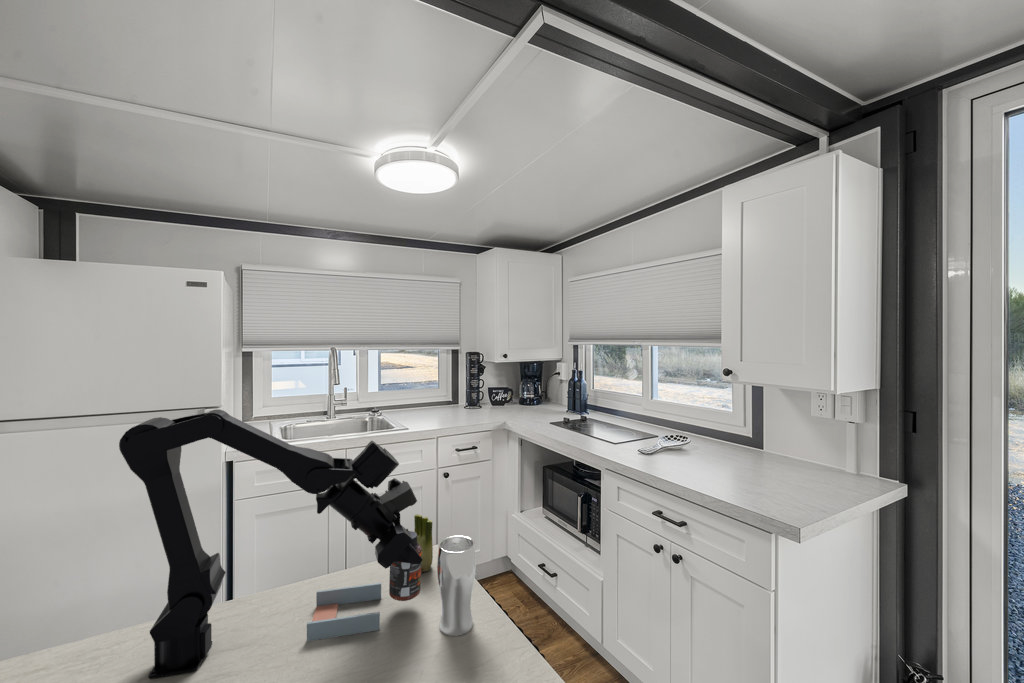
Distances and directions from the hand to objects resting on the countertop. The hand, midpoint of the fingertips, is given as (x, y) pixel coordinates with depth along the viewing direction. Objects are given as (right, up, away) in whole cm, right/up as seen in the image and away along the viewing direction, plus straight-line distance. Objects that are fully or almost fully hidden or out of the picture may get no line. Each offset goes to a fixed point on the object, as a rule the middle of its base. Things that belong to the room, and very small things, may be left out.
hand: (417, 554), depth 85 cm
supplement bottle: (-2, -7, -1) cm, 8 cm away
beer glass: (+8, -11, -5) cm, 14 cm away
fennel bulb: (-2, -10, +14) cm, 17 cm away
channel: (-12, -10, -3) cm, 16 cm away
